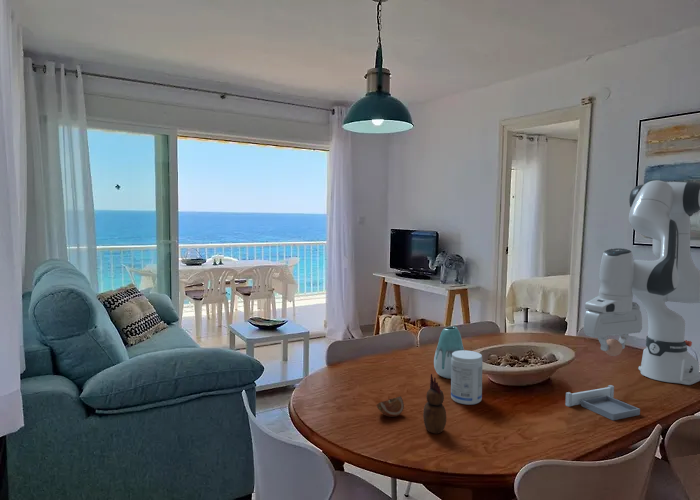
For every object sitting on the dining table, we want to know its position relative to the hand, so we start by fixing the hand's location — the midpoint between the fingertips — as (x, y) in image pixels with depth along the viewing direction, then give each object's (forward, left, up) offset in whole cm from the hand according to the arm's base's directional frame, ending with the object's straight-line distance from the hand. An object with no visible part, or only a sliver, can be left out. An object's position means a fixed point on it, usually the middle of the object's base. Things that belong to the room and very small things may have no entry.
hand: (612, 349), depth 138 cm
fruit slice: (+64, -20, -19) cm, 70 cm away
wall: (0, -7, -19) cm, 20 cm away
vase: (+28, -43, -19) cm, 55 cm away
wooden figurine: (+57, -7, -19) cm, 60 cm away
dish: (0, 0, -19) cm, 19 cm away
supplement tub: (+36, -22, -19) cm, 46 cm away
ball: (0, 0, -2) cm, 2 cm away
